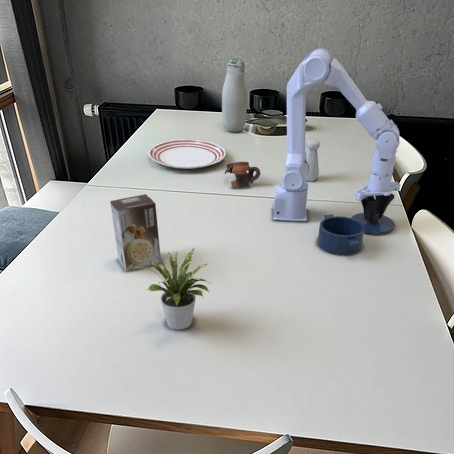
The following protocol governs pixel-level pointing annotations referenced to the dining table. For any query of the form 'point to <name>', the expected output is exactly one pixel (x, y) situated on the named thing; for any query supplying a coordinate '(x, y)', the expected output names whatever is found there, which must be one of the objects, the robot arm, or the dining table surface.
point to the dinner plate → (187, 153)
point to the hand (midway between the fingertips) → (372, 218)
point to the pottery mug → (242, 174)
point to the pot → (340, 235)
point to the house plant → (178, 292)
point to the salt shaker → (312, 159)
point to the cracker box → (136, 231)
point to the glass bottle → (234, 96)
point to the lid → (375, 223)
